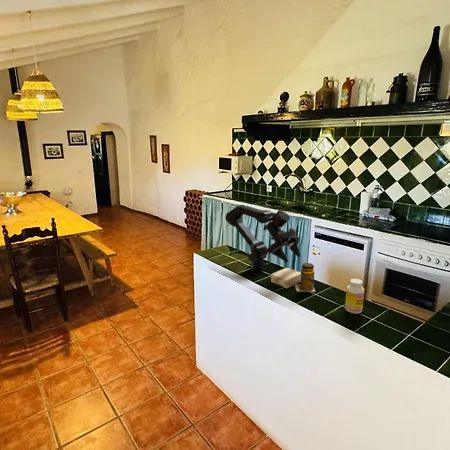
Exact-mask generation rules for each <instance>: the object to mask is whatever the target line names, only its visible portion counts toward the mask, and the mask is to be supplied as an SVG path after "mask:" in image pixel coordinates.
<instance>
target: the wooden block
mask: <svg viewBox="0 0 450 450" xmlns="http://www.w3.org/2000/svg"><path fill="white" fill-rule="evenodd" d="M270 282H271V283H274V284H275V285H277V286H281V287H283V288H285V289H288V288H290V287H292V286H293V287H294V286H295V284H299V283H301V271H298V270H295V269H292V268H289V267H284V268H283V269H280V270H278V271H275V272H272V273H271V274H270Z"/></svg>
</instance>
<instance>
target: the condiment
mask: <svg viewBox="0 0 450 450" xmlns="http://www.w3.org/2000/svg"><path fill="white" fill-rule="evenodd" d="M314 269H315V266H314V264H313V263H309V262H304V263H302V265H301V270H300V272H301V282H300V284H299V283H297V284H295V285H294V286H295V290H296V292H304V293H305V292H306V293H309V292H311V293H315V292H316V290H315V286H314V285H315V284H314V283H315V270H314Z"/></svg>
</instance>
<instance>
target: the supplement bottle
mask: <svg viewBox="0 0 450 450" xmlns="http://www.w3.org/2000/svg"><path fill="white" fill-rule="evenodd" d="M364 298H365V288H364V287H363V280H361V279H359V278H351V279H350V280H349V285H347V287H346V292H345V304H344V308H345V310H346V311H347V312H348V313H350V314H355V315H356V314H361V313H362V312H363V309H364V300H365V299H364Z"/></svg>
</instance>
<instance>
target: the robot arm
mask: <svg viewBox="0 0 450 450" xmlns="http://www.w3.org/2000/svg"><path fill="white" fill-rule="evenodd" d="M243 215H245V216H248V217H250V218H254V219H255V221H257V222H258V223H260V224H264V225H263V231H268V234H269V235H270V236H271V238H270V240H271V241H274V242H273V243H271V244H270V246H269V247H268V245H266V244H265V242H264V241H263V240H261V241H258V240H257V239H256V237H255V235H253V233H252V232H251V231H250V230H249V228H248V227H247V226H246V224H245V223H244V222H243ZM290 219H291V217H290V215H289V214H288V213H287V212H285V211H283V210H282V209H279V210H277V211H276V213H274V212H273V211H271V210H266V209H265V210H263V209H262V210H260V209H256V208H254V207H250V206H246V205H245V204H239V205H237V206H235V207H234V208H233V209H231V210H230V211H228V212H227V213H226V214H225V221H226V222H227V223H228V224H229V225H230V226H232V227H234V228H236V230H237V231H238V233H239V234H240V236H241V237H242V238H243V239H244V241H245V242H246V243H247V245H248V246H249V250H250V254H248V256H247V257H248V260H249V261H251V263H250V265H251V267H250V268H248V270H250V271H253V272H255V273H260V272H265V271H266V270H267V269H266V268H265V262H264V260H265V259H266V258H267V256H268V254H269V255H271V256H272V255H273V256H275V257H277V258H278V259H280V260H283V262H285V263H288V262H289V260H288V257H287V256H286V255H285V253H284V249H283V247H286V246H288V249H289V250H290V251H291V252H292V253H293V254H294V255H295V256H296V257H297V258H300V257H301V254H300V249H299V243H300V241H301V239H300V237H299V236H298V235H296V234H297V231H296V229H295V228H294V227H291V228H289V229H288V231H285V230H284V229H283V230H282V229H281V228H282V227H283V226H285V225H286V224H287V223H288V222H289V221H290Z"/></svg>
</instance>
